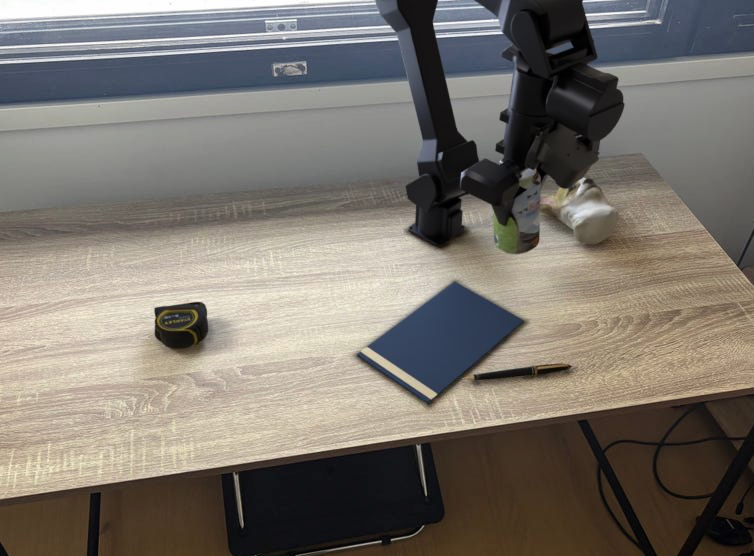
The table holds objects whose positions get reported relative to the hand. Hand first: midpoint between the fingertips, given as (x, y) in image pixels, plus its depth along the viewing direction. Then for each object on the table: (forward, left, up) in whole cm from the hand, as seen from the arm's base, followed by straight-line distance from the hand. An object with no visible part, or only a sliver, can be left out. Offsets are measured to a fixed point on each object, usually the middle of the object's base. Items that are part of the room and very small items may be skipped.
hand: (514, 216), depth 97 cm
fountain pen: (+12, -14, -11) cm, 22 cm away
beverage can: (0, 0, -5) cm, 5 cm away
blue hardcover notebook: (+1, -15, -11) cm, 19 cm away
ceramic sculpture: (0, +19, -11) cm, 22 cm away
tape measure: (-25, -38, -11) cm, 47 cm away
